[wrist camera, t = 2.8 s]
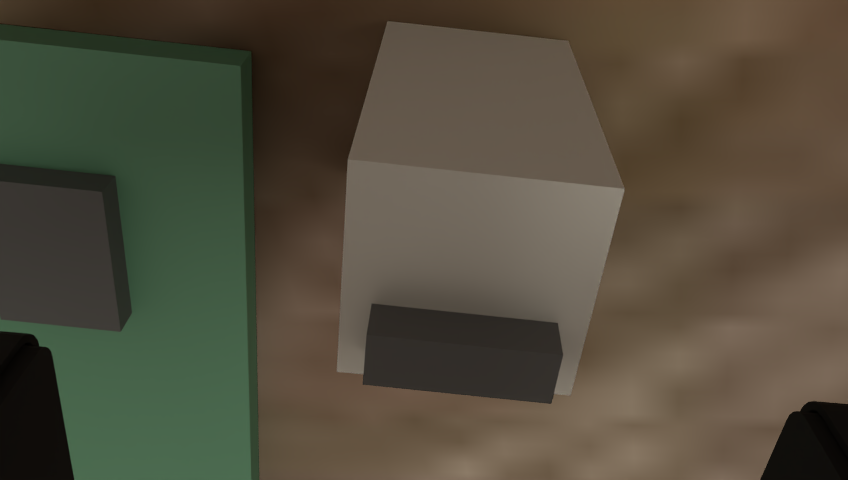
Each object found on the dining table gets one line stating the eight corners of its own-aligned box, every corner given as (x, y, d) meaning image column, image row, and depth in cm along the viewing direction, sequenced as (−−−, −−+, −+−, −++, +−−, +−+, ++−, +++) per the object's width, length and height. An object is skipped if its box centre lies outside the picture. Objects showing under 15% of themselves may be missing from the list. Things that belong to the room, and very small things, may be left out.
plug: (387, 21, 17) (340, 185, 11) (568, 40, 17) (634, 216, 11) (375, 182, 19) (330, 404, 13) (537, 199, 19) (576, 429, 13)
